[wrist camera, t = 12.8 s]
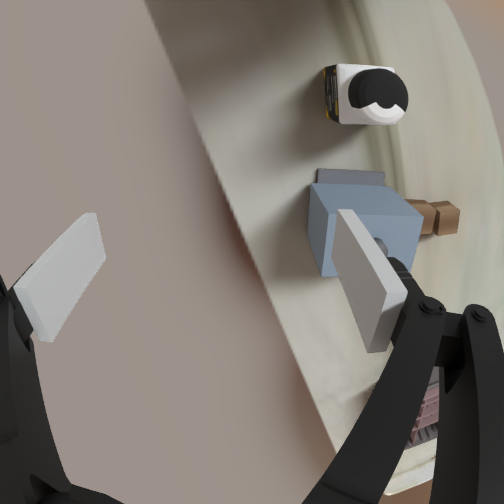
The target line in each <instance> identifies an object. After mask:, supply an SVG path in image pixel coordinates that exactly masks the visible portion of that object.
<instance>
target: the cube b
mask: <svg viewBox="0 0 504 504" xmlns="http://www.w3.org/2000/svg"><path fill="white" fill-rule="evenodd" d="M429 204H430V205H431V206H432V207H434V208H435V209H436V215H435V220H434V224H433V229H432V231H433V232H434V233H435V234H436V235H437V236H441V235H448V234H454V233H457V229H458V222H459V215H460V210H459V209H458V208H456V207H455V206H454V205H452V204H451V203H450V202H448V201H442V202H432V203H429Z"/></svg>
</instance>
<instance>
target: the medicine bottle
mask: <svg viewBox="0 0 504 504" xmlns="http://www.w3.org/2000/svg"><path fill="white" fill-rule="evenodd" d="M323 71H324V85H325V100H326V116H327V118H329V119H331V120H333V121H336V122H338V123H340V124H374V125H395V124H396V121H398V120H399V119H400V118H401V117H402V116H403V115H404V113H405V111H406V109H407V106H408V92H407V89H406V86H405V84H404V83H403V81H402V80H401V79H400V77H399V76H398V75H396V74H395V73H394V69H393V68H391V67H381V66H369V65H354V64H336V65H332V66H328V67H325V68H324V69H323Z"/></svg>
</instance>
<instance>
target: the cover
mask: <svg viewBox="0 0 504 504" xmlns="http://www.w3.org/2000/svg"><path fill="white" fill-rule="evenodd" d="M338 209H352V210H353V211H354V212H355V214H356V215H357V216H358V218H359V219H360V221H361V222H362V223H363V225H364V226H365V228H366V229H367V230H368V232H369V233H370V235H371V236H372V238H373V239H374V241H375V242H376V243H377V245H378V246H379V248H380V249H381V251H382V252H383V254H384V255H385V257H395V258H396V259H398V260H399V261H400V262H402V263H403V264H404V265H405V267H406V268H407V270H408V272H409V273H410V270H411V267H412V263H413V260H414V256H415V252H416V248H417V245H418V241H419V237H420V232H421V228H422V224H423V219H424V216H422V215H421V214H420V213H419V212H418V211H417V210H416V209H415V208H414V207H412V206H411V205H410V204H409V203H408V202H407V201H406V200H404V199H403V198H402V197H401V196H400V195H399V194H397V193H396V192H395V191H394V190H393V189H391V188H390V187H387V186H371V185H352V184H328V183H311V185H310V200H309V214H308V227H307V237H308V239H309V242H310V245H311V248H312V251H313V254H314V257H315V260H316V263H317V266H318V269H319V272H320V275H321V277H336V276H338V273H337V271H336V268H335V266H334V264H333V261H332V259H331V256H332V249H333V242H334V234H335V226H336V218H337V210H338Z"/></svg>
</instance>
